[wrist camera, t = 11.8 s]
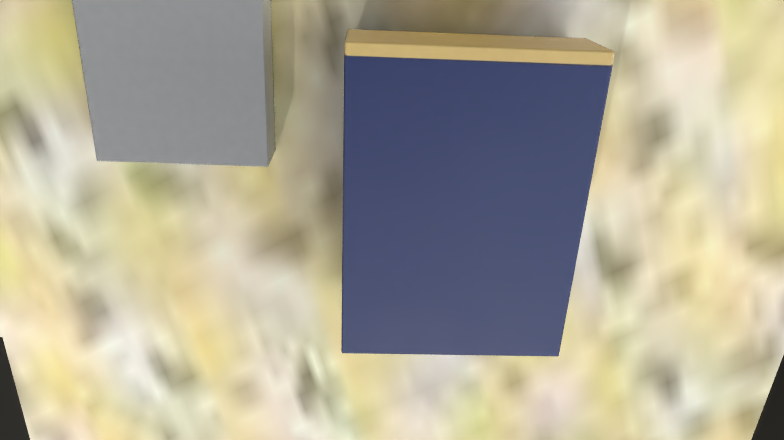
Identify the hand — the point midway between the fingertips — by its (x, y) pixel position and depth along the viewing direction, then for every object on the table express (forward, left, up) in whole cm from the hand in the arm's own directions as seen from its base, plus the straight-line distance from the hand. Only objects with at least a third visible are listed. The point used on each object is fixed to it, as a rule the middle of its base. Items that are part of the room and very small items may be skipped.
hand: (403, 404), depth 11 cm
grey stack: (-5, -8, -20) cm, 22 cm away
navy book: (+2, +3, -15) cm, 16 cm away
